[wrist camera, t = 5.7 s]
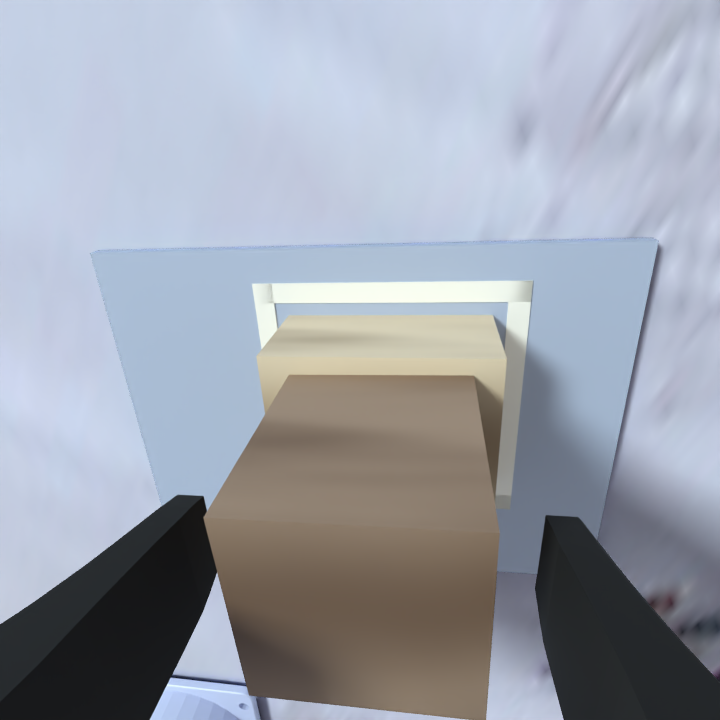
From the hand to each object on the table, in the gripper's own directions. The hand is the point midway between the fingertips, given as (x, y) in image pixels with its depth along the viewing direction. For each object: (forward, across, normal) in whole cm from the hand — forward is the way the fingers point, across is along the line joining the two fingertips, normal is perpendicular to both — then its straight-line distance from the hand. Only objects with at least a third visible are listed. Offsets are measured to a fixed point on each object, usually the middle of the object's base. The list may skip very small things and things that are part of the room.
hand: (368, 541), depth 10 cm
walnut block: (+3, 0, 0) cm, 3 cm away
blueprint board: (+6, +1, +1) cm, 6 cm away
